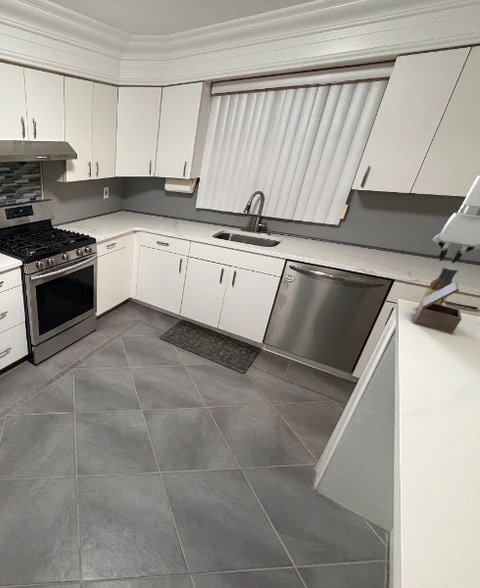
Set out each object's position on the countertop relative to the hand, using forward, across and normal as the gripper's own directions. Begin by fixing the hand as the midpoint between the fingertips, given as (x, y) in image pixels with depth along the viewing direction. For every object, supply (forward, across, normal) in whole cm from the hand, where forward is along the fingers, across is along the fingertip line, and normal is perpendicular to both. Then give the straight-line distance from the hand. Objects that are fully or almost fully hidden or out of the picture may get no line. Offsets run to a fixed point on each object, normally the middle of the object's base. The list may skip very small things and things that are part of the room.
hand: (446, 260), depth 115 cm
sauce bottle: (+25, -4, -12) cm, 28 cm away
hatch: (+13, -3, 0) cm, 14 cm away
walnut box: (+25, -5, 0) cm, 26 cm away
